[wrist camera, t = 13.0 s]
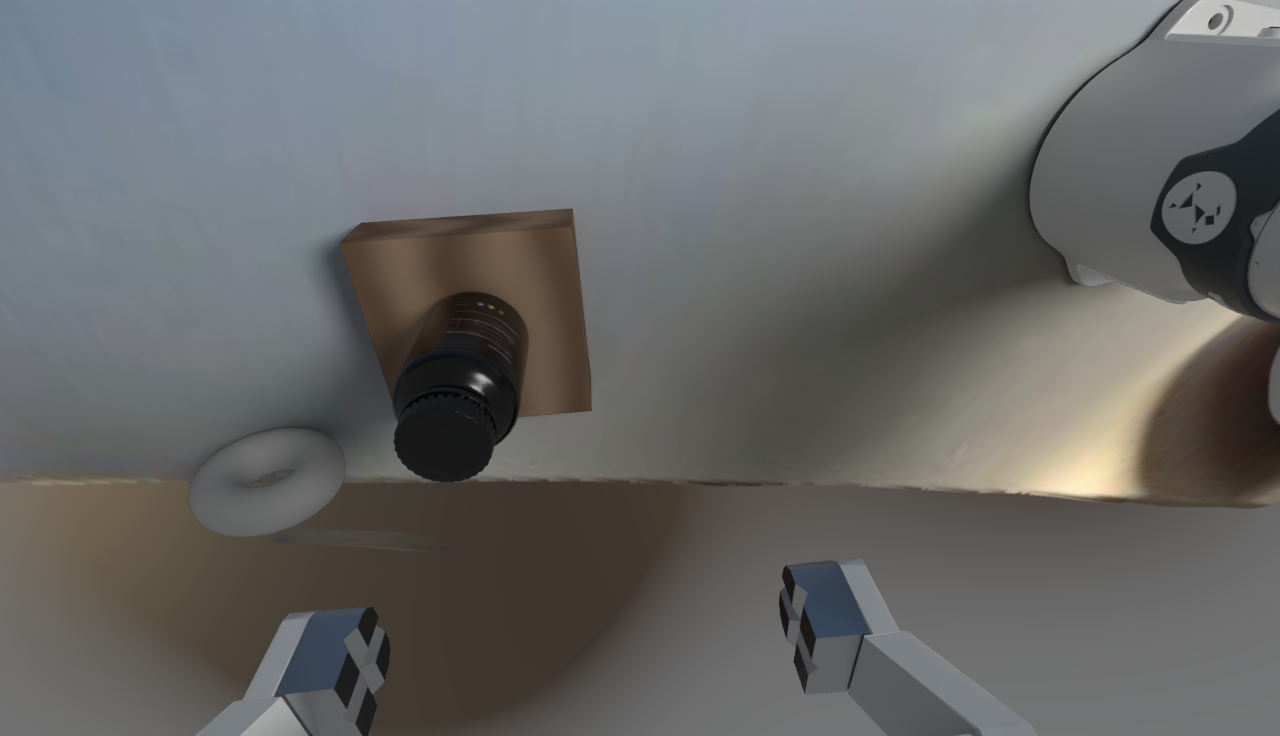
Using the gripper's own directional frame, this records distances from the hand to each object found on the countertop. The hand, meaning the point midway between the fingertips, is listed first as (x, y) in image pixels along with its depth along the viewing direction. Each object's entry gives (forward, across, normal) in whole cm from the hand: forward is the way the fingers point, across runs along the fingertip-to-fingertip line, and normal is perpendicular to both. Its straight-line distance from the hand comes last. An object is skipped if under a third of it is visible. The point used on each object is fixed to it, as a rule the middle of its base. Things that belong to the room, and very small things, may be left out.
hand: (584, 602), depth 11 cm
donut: (+31, +25, +18) cm, 44 cm away
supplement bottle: (+27, +8, +8) cm, 29 cm away
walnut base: (+31, +8, +8) cm, 33 cm away
